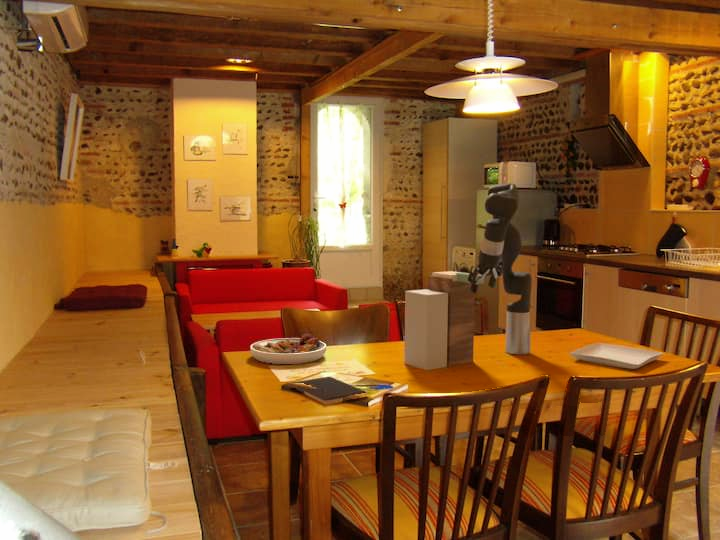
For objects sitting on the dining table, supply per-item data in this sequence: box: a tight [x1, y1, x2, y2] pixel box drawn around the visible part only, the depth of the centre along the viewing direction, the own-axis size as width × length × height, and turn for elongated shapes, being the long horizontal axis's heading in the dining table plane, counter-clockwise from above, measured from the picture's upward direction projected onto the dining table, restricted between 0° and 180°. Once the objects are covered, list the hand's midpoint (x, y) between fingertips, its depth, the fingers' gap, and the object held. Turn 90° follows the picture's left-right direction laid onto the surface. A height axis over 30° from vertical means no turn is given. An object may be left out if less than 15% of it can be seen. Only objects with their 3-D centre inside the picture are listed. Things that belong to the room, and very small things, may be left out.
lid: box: [431, 270, 485, 285], centre depth 259 cm, size 21×10×3 cm, turn 35°
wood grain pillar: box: [427, 275, 476, 367], centre depth 264 cm, size 13×12×33 cm
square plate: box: [569, 342, 664, 370], centre depth 268 cm, size 27×27×4 cm
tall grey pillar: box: [404, 288, 448, 371], centre depth 258 cm, size 13×10×28 cm
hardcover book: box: [292, 376, 367, 406], centre depth 221 cm, size 16×23×2 cm
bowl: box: [249, 333, 327, 365], centre depth 270 cm, size 30×30×8 cm
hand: (482, 289), depth 242 cm, fingers open, 8 cm apart
